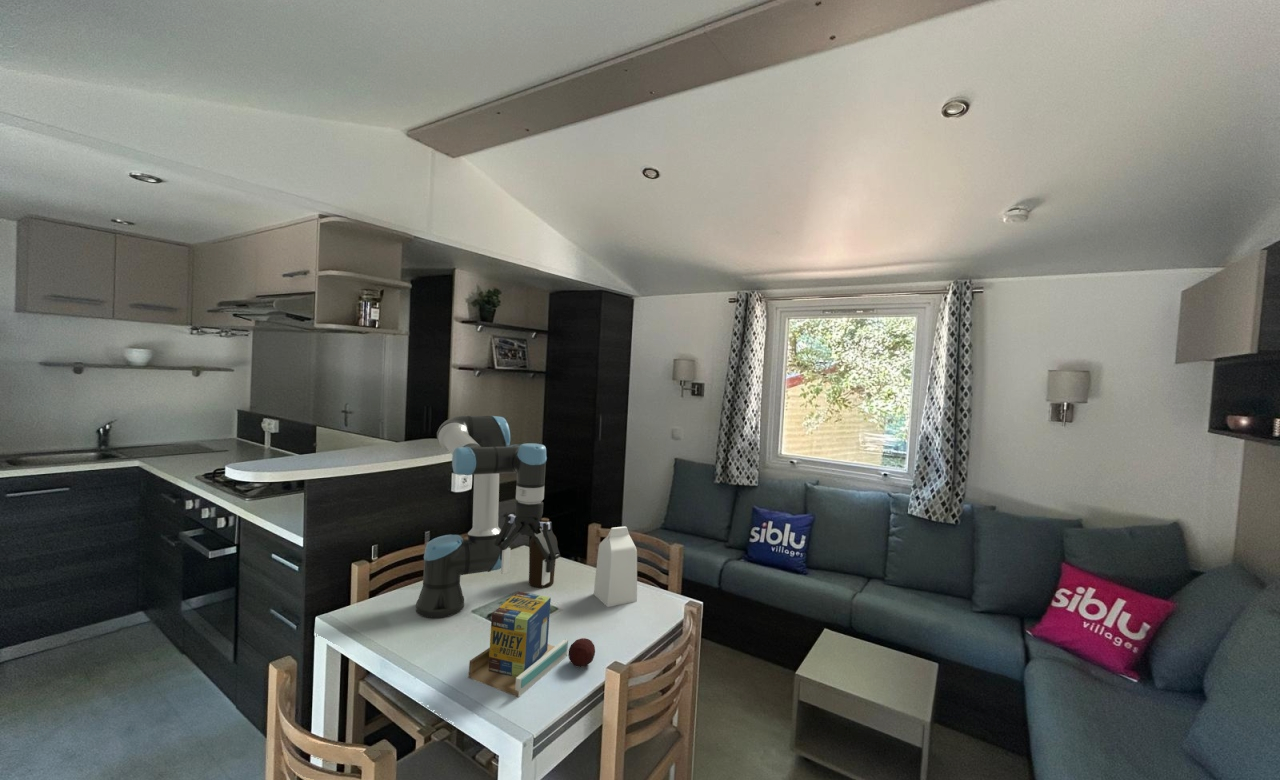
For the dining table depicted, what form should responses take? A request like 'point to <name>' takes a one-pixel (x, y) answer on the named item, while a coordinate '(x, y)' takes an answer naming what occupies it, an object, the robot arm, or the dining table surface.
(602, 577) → the milk
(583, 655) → the dark red ball
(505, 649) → the protein box
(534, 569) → the olive oil
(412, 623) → the dining table surface
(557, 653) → the rail
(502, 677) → the shelf board
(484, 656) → the back lip
